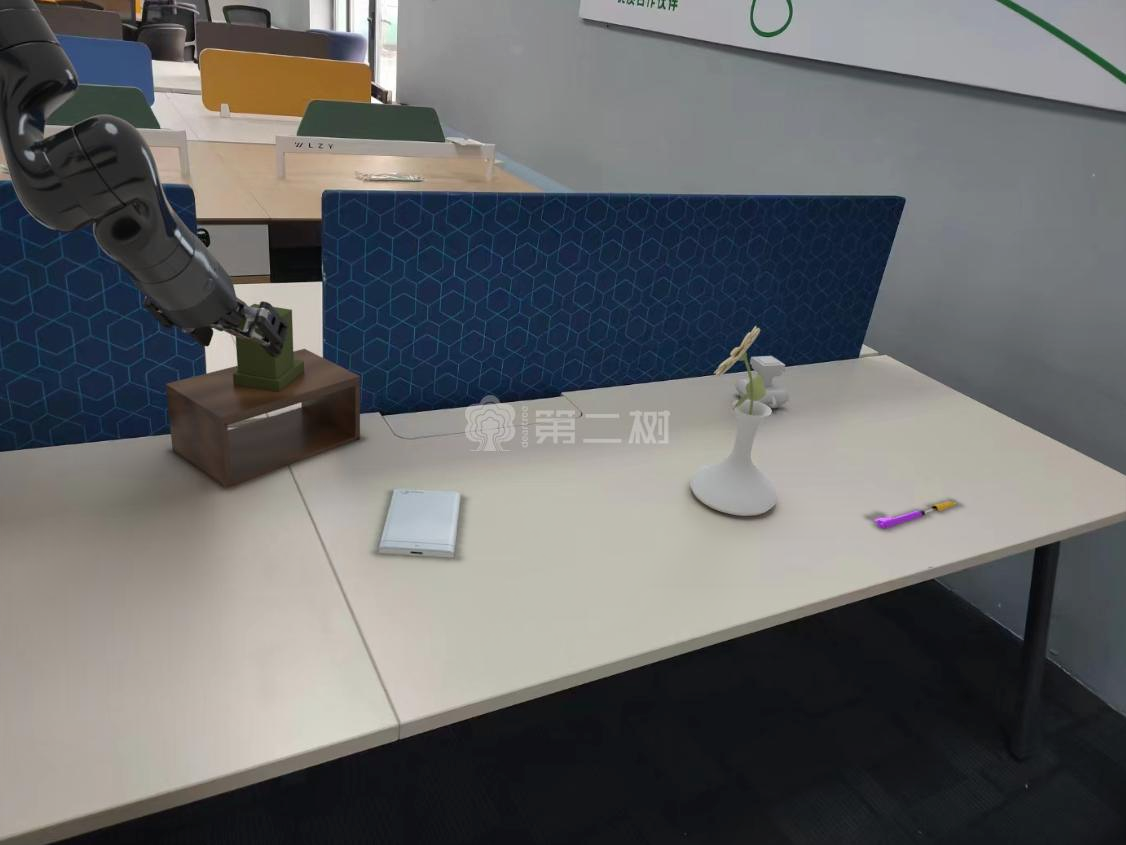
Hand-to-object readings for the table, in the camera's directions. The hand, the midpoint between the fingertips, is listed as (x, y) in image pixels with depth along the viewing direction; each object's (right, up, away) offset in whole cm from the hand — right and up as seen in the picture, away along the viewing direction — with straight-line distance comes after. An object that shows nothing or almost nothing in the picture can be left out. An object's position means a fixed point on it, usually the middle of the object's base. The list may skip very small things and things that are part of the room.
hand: (242, 344), depth 99 cm
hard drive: (+21, -22, -1) cm, 30 cm away
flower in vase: (+59, -20, +13) cm, 64 cm away
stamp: (+71, -7, +43) cm, 83 cm away
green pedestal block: (0, -4, +8) cm, 8 cm away
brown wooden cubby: (-1, -13, +12) cm, 18 cm away
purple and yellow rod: (+85, -22, +15) cm, 89 cm away
